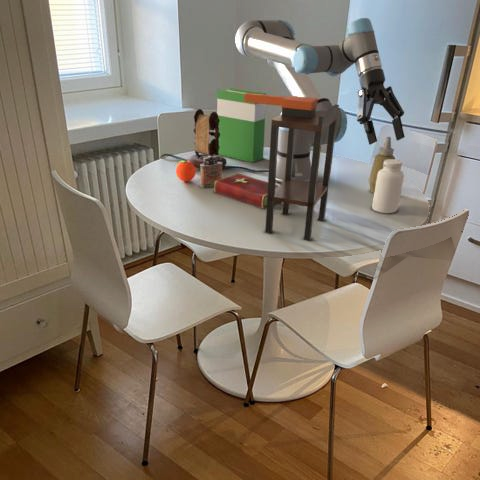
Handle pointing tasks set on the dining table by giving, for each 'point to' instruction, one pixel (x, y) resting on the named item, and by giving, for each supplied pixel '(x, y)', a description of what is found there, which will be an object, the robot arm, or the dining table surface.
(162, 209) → the dining table surface
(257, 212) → the dining table surface
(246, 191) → the hardcover book
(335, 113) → the metal plant stand
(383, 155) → the squeeze bottle
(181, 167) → the clementine
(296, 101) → the brush
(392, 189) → the pill bottle
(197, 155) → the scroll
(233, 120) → the green cereal box
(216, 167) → the lighter
